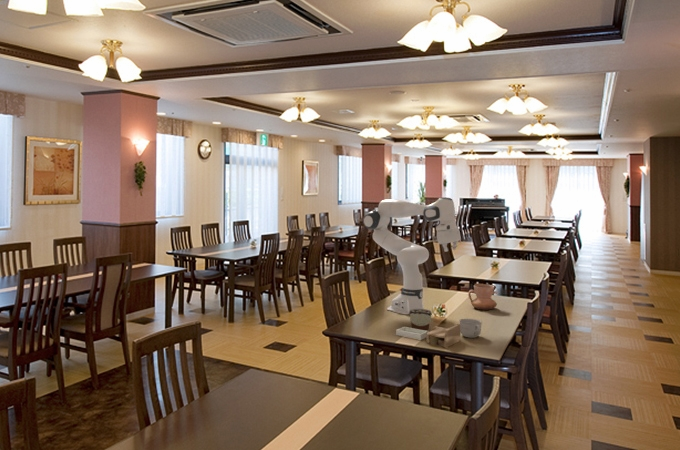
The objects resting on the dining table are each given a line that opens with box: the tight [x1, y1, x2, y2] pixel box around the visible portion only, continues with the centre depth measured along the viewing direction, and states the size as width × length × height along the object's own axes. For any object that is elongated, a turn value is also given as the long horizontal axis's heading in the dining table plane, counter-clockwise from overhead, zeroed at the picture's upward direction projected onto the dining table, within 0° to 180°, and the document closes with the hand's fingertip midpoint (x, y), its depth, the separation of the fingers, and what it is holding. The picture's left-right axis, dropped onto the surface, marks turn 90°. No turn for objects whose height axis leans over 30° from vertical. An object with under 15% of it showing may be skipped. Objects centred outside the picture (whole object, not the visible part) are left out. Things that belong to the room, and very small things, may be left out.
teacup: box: [459, 318, 483, 339], centre depth 255 cm, size 14×11×8 cm
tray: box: [395, 326, 430, 341], centre depth 257 cm, size 14×8×3 cm, turn 53°
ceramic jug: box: [467, 284, 499, 311], centre depth 315 cm, size 18×14×14 cm
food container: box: [408, 308, 433, 332], centre depth 269 cm, size 12×6×10 cm, turn 71°
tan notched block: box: [426, 323, 461, 348], centre depth 247 cm, size 14×14×8 cm
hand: (450, 250), depth 288 cm, fingers open, 8 cm apart
